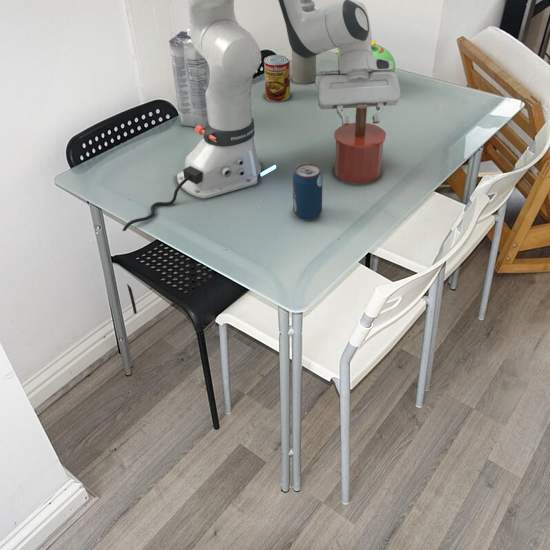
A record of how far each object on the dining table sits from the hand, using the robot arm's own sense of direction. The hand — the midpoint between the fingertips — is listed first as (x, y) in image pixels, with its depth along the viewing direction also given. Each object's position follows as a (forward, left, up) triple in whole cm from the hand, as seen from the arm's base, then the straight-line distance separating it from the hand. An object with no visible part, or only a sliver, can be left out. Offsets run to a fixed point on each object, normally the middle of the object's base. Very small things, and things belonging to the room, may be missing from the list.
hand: (361, 123), depth 153 cm
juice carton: (-16, +53, -14) cm, 57 cm away
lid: (0, +1, -4) cm, 4 cm away
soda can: (-22, -5, -14) cm, 27 cm away
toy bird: (+38, +38, -14) cm, 56 cm away
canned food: (+13, +52, -14) cm, 55 cm away
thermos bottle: (+28, +57, -14) cm, 65 cm away
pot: (0, +1, -14) cm, 14 cm away
